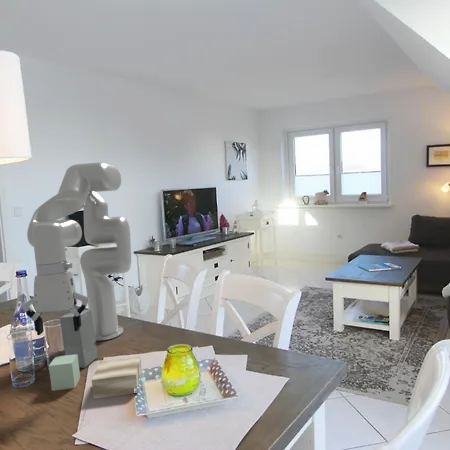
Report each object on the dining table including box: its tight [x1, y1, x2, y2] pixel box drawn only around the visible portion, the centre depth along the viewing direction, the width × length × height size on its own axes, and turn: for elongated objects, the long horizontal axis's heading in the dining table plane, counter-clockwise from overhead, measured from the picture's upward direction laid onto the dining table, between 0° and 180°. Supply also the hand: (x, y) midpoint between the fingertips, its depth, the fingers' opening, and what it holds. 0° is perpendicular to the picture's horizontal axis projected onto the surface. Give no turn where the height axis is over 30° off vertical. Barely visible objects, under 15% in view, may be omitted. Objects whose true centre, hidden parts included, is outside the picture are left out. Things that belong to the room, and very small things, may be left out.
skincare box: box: [59, 308, 99, 368], centre depth 129 cm, size 8×7×16 cm
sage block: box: [48, 354, 81, 392], centre depth 116 cm, size 6×6×7 cm
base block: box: [91, 356, 142, 400], centre depth 112 cm, size 11×11×5 cm
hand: (59, 331), depth 114 cm, fingers open, 9 cm apart
